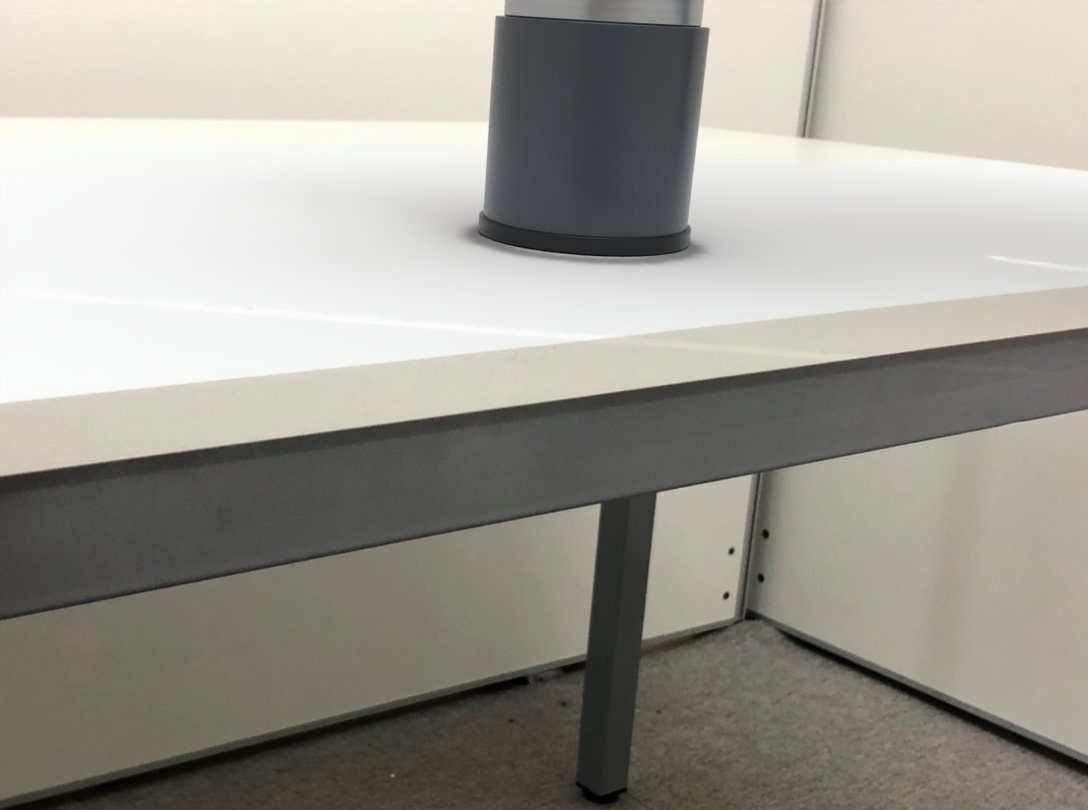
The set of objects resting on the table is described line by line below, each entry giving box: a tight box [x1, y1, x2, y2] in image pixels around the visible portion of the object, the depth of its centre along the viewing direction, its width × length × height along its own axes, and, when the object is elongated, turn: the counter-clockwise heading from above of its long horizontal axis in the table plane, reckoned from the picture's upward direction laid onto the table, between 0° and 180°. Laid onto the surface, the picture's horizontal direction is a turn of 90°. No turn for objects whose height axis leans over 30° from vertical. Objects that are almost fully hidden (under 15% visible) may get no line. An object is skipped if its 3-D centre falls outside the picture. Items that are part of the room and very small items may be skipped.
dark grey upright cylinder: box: [477, 0, 711, 257], centre depth 63 cm, size 10×10×12 cm
